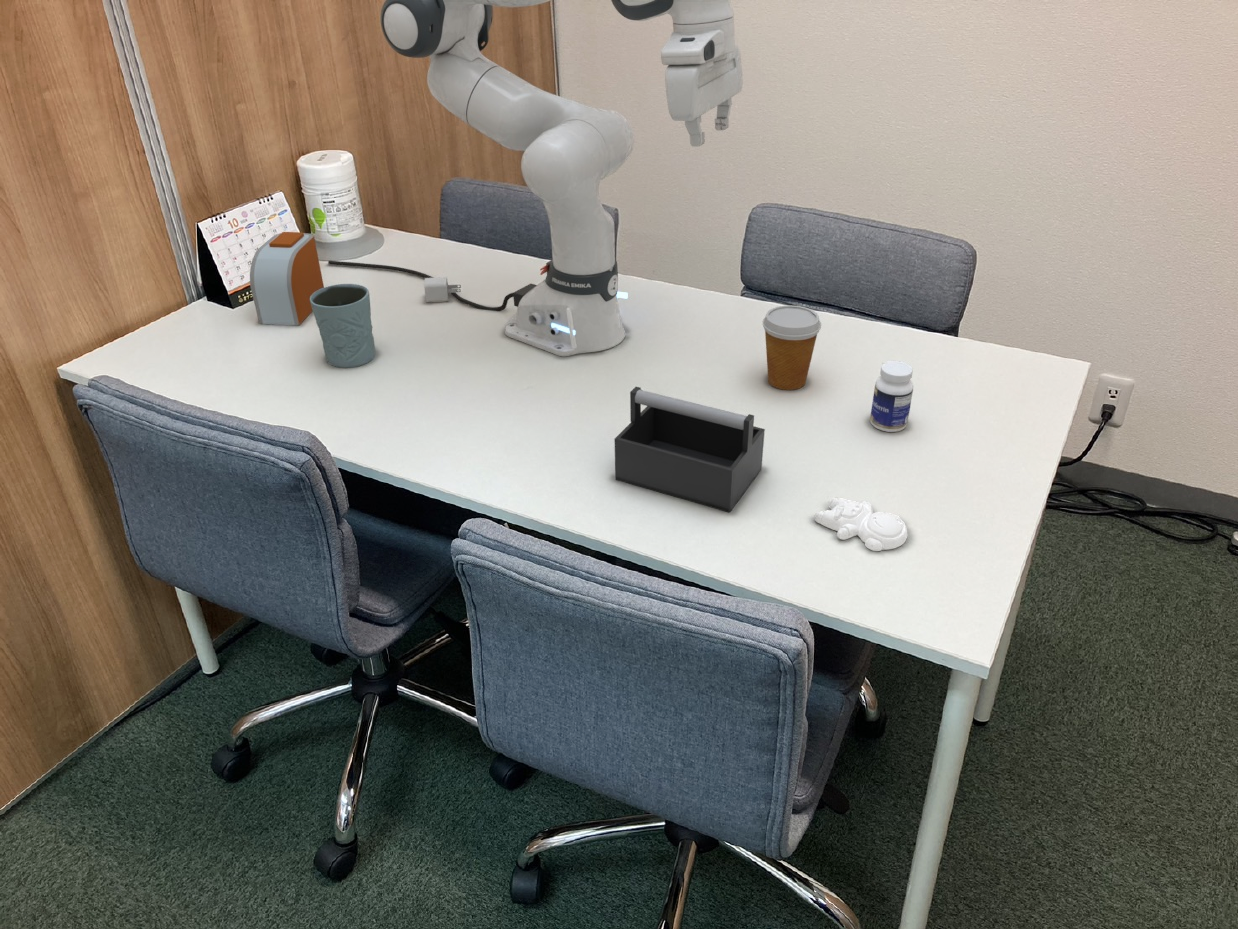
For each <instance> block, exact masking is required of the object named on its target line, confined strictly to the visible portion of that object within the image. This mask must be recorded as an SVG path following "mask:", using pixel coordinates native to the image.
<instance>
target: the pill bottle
mask: <svg viewBox="0 0 1238 929" xmlns="http://www.w3.org/2000/svg"><path fill="white" fill-rule="evenodd" d="M913 369H914V368H913V367H912V366H911V365H910V364H909V363H907V362H905V361H899V360H887V361H885V362H883V363H882V364H881V366H880V372H879V374H880V376H878V377H877V379H876V380H875V383H874V390H873V397H872V403H871V410H870V417H869V421H870V424H871V425H872V426H873V427H874V428H875V429H878V430H880V431H883V432H888V433H894V432H900V431H902V430H904V429H906V427H907V425H908V422H909V416H910V412H911V411H910V410H911V404H912V399H913V392H914V383H913V381H912V380H911V379H912V378H913V371H914V370H913Z"/></svg>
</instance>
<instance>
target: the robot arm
mask: <svg viewBox="0 0 1238 929" xmlns="http://www.w3.org/2000/svg"><path fill="white" fill-rule="evenodd" d="M550 1H552V0H385V1H384V2H383V4H382V7H381V11H380V27H381V31H382V35H383V36H384V38H385V40H386V43H388V45H389V46H390V47H391V48H392V50H393V51H394V52H396V53H397V54H398V55H401V56H403V57H406V58H412V59H414V58H415V59H424V58H428V57H429V62H430V64H429V67H428V70H427V73H426V74H427V75H426V82H427V87H428V91H429V92H430V94H431V96H432V97H433V98H434V99H435V100H436V101H437V102H438V103H439V104H440V105H441V106H443V107H444V108H445V109H446V110H447V111H448V112H450V113H451V114H452V115H454V116H455V117H456V118H458V119H459V120H460V121H462V122H463V123H464V124H466V125H467V126H469V127H471V128H472V129H474V130H476V131H478V132H479V133H481V134H483V135H484V136H486V137H487V138H489V139H491V140H492V141H494V142H495V143H496V144H499V145H500V146H501V147H504V148H505V149H507V150H511V151H515V152H523V154H522V157H521V160H520V168H521V169H520V170H521V175H522V179H523V181H524V183H525V185H526V186H527V188H528V189H529V190H530V191H531V193H532V194H534V195H535V196H536V197H538V198H539V199H540V201H541V202H542V204H543V207H544V209H545V212H546V215H547V218H548V222H549V223H548V224H549V230H550V240H551V254H552V255H551V256H552V259H551V260H549V261H548V262H546V263H545V265H544V266H542V267H541V268H540V269H539V270H540V271H541V272H540V276H542V275H544V274H546V276H545V279H544V280H543V281H541V282H539V283H537V284H535V283H529V284H527V285H525V286H523V287H521V288H519V289H517V290H515V291H514V292H510V293H508V294H507V295H505V297H504V298H503V301H502V303H501V304H502V305H500V306H493V307H492V306H486V305H482V304H479V303H476V302H474V301H472V300H471V301H470V300H468V299H465V298H463V297H462V296H460V295H459V294H458V293H457V292H456V293H450V294H451V295H452V296H453V297H454V298H455V299H456V300H457V301H458V302H460V303H462V304H465V305H467V306H469V307H472V308H475V309H479V310H485V311H493V312H500V311H504V310H505V309H506V308H507V305H508V301H509V300H510V299H511V298H513V306H514V307H516V308H517V310H516V315H515V316H514V317H512V318H511V319H510V320H509V321H508V323H507V324H506V326H505V331H504V332H505V333H504V335H505V336H506V337H509V338H510V339H514V340H516V341H519V342H522V343H524V344H527V345H530V346H532V347H535V348H537V349H540V350H543V351H545V352H548V353H550V354H554V355H556V356H559V357H570V356H574V355H578V354H584V353H596V352H602V351H605V350H608V349H612V348H614V347H616V346H618V345H619V344H620V343H622V341H624V339H625V338H626V330H625V328H624V323H623V321H622V317H621V313H620V307H619V306H620V305H619V299H628V298H629V297H628V292H623V291H618V289H619V270H618V268H619V267H618V260H616V244H615V243H616V240H615V238H616V237H615V221H614V218H613V217H612V215H611V214H610V212H608V211H606V210H605V209H604V207H603V204H602V200H601V197H600V184H601V181H603V180H604V179H606V178H608V177H609V176H611V175H613V174H614V173H616V172H617V171H619V170H620V169H621V167H622V166H623V165H624V164H625V163H626V162H627V160H628V158H629V157H630V156H631V154H632V152H633V150H634V146H635V145H634V144H635V136H634V131H633V128H632V126H631V124H630V123H629V121H628V120H627V119H626V117H625V116H624V115H623V114H621V113H619V111H616V110H613V109H605V108H597V107H593V106H589V105H586V104H583V103H581V102H577V101H575V100H572V99H569V98H566V97H563V96H560V95H557V94H554V93H551V92H549V91H546V90H544V89H541V88H539V87H537V86H535V85H534V84H532V83H530V82H528V81H526V80H525V79H523V78H521V77H519V76H518V75H516V74H514V73H513V72H511V71H509V70H508V69H506V68H504V67H502V66H501V65H499V64H497V63H496V62H494V61H492V60H491V59H488V58H487V57H486V56H485V55H484V54H482V51H483V50H484V49H485V48H486V47H487V46H488V44H489V40H490V30H491V27H492V23H493V17H494V16H493V15H494V10H493V9H494V8H493V7H500V8H524V7H531V6H536V5H541V4H545V3H547V2H550ZM610 1H611V2H612V5H613V7H614V9H615V10H616V12H617V13H619V15H621V16H622V17H624V18H625V19H627V20H631V21H638V22H645V21H650V20H652V19H655V18H658V17H661V16H665V15H670V16H671V20H672V28H673V29H672V30H673V31H672V32H671V34H670V37H669V38H668V40H667V41H666V43H665V45H664V46H663V48H662V49H661V51H660V59H661V64H662V65H663V66H667V67H666V68H665V73H664V83H665V93H666V95H665V96H666V102H667V110H668V113H669V115H670V117H671V119H672V120H673V121H674V122H675V121H676V122H684V126H685V128H686V130H687V132H688V135H689V143H690V146H691V147H697V148H698V147H701V146H702V145H704V144H705V142H706V138H705V136H706V135H705V131H702V126H701V123H702V116H703V115H704V114H706V113H708V112H709V111H711V110H713V109H714V108H716V117H715V118H714V129H715V130H716V131H725V130H727V129H728V128H729V127H730V113H731V109H732V104H733V103H732V101H733V100H732V98H733V97H735V96H736V95H738V94H740V93H742V89H743V84H744V77H743V67H742V66H743V65H742V57H741V51H740V47H739V45H738V44H737V43H736V35H735V15H734V14H735V13H734V10H733V7H732V4H731V0H610ZM483 43H484V44H483ZM327 264H328V265H331V266H346V267H355V268H357V267H358V268H368V269H380V270H389V271H395V272H401V273H406V274H411V275H414V276H417V277H421V278H424V279H425V278H435V277H433V276H431V275H429V274H427V273H425V272H421V271H417V270H414V269H409V268H405V267H399V266H394V265H387V264H386V265H385V264H375V263H364V262H355V261H354V262H351V261H341V260H340V261H339V260H328V261H327ZM618 298H619V299H618Z"/></svg>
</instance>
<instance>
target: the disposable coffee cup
mask: <svg viewBox="0 0 1238 929" xmlns="http://www.w3.org/2000/svg"><path fill="white" fill-rule="evenodd" d="M762 327H763V329H764V332H765V352H766V353H765V354H766V367H767V368H766V369H767V381H768V384H769V385H770V386H772V387H774V388H775V389H779V390H783V391H794V390H798V389H802V388H803V387H804V386H805V385H806V384H807V383H806V382H807V378H808V374H809V371H810V365H811V362H812V359H813V353H814V349H815V345H816V341H817V338H818V334H819V332H820V331H821V329H822V322H821V320H820V316H819V314H818V313H817V312H816V311H815V310H813V309H811V308H808V307H804V306H800V305H791V304H790V305H780V306H776V307H772V308H771V309H768V311H767V312H766V314H765V316H764V318H763V319H762Z"/></svg>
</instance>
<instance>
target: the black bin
mask: <svg viewBox="0 0 1238 929" xmlns="http://www.w3.org/2000/svg"><path fill="white" fill-rule="evenodd" d="M641 406H645V408H643V409H642V407H641ZM629 408H630V409H629V410H630V414H629V415H630V416H629V418H630V420H629V421H630V423H629V424H627V426H625V428H623V429H622V431H620V433H619V434H618V435H617V436H616V437H615V438H614V469H615V470H614V471H615V472H614V477H615V478H614V480H616V481H620V482H623V483H626V484H630V485H634V486H636V487H641V488H643V489H647V490H651V491H654V492H658V493H661V494H664V495H668V496H671V497H674V498H678V499H682V500H685V501H689V502H692V503H695V504H699V505H703V506H706V507H708V508H713V509H716V510H719V511H723V512H726V513H731V512H732V511H733V509H734V508H735V506H736V505H737V504H738V502H739V501H740V499H741V498H742V497H743V496H744V494H745V493H746V492H747V490H748V489H749V487H750V486H751V485H752V483H753V482H754V481H755V479H756V478H757V476H758V475H759V474H760V472H761V471H762V469H763V457H764V456H763V455H764V444H765V442H764V441H765V432H766V431H765V430H766V429H765V428H762V427H759V426H755V424H754V423H755V415H754V414H750V413H749V414H747V415H746V414H740V413H736V412H732V411H728V410H725V409H720V408H717V407H713V406H708V405H704V404H700V403H697V402H692V401H687V400H683V399H679V398H676V397H672V396H668V395H663V394H659V393H655V392H651V391H647V390H643V389H642V388H641V387H639V386H634V388H632V389H631V391H630V392H629Z"/></svg>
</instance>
